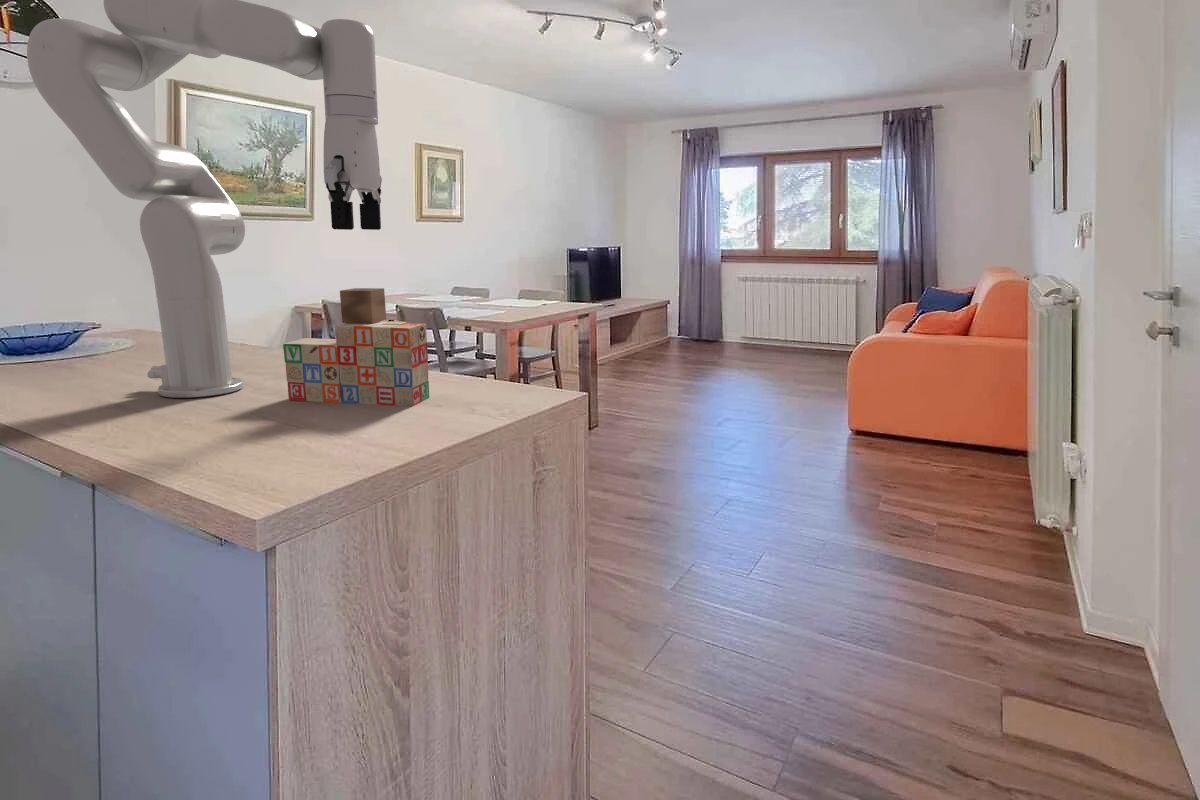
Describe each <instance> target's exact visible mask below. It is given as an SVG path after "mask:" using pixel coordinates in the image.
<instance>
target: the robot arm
mask: <svg viewBox="0 0 1200 800" xmlns="http://www.w3.org/2000/svg"><path fill="white" fill-rule="evenodd" d="M103 8H104V12H105V14H106V16H107V19H109V21H110V23H111V24H112V25H113V27H114V28H115V29H117V30H118V31H119V32H120V33H121V34H118V33H115V32H112V31H109V30H106V29H104V28H101V27H97V26H94V25H92V24H89V23H85V22H82V21H79V20H75V19H68V18H61V17H58V18H48V19H45V20H42V21H40V22H39V23H37V24H36V25H35V26H34V27H33V28H32V29H31V31H30V34H29V35H28V39H27V45H26V59H27V65H28V66H27V67H28V69H29V74H30V77H31V79H32V81H33V84H34V85H35V88H36V89H37V91H38V92H39V94H40V96H41V97H42V98H43V100H44V101H45V103H46V104H47V105H48V106H49V107H50V109H51V110H52V112H53V113H55V115H57V117H58V118H59V119H60V120H61V121H62V122H63V123H64V124H65V126H67V128H68V129H69V130H70V131H71V132H72V134H73V135H74V137H75V138H76V139H77V140H78V142H79V143H80V144H81V147H83V149H84V150H85V151H86V152H87V154H88V155H89V156H90V158H91V159H92V160H93V161H94V162H95V164H96V165H97V167H98V168H99V169H100V170H101V172H102V173H103V174H104V176H105V177H106V178H107V180H108V181H109V182H110V183H111V184H112V186H114V187H113V188H115V189H116V190H117V191H118V192H119V193H120V194H122V195H124V196H125V197H127V198H129V199H132V200H139V201H147V202H148V203H147V204H146V205H145V207H144V208H143V209H142V211H141V215H140V217H139V218H140V219H139V230H140V235H141V239H142V242H143V244H144V247H145V249H146V253H147V255H148V260H149V262H150V267H151V270H152V271H151V272H152V275H153V283H154V288H155V289H154V290H155V296H156V303H157V309H158V318H159V325H160V330H161V332H160V333H161V339H162V347H163V353H164V363H165V364H162V365H153V366H152V367H150V369H149V370H148V372H147V377H148V378H149V379H161V385H159V386H158V388H157V390H158V391H157V392H158V395H160V396H161V397H165V398H174V399H177V398H179V399H180V398H181V399H185V398H186V399H187V398H188V399H189V398H203V397H211V396H212V397H213V396H219V395H226V394H229V393H232V392H237V391H238V390H240V389H241V390H242V388H243V387H244V381H243V379H241V378H238V377H234V376H233V372H232V363H231V356H230V355H231V354H230V346H229V337H228V328H227V321H226V310H225V303H224V295H223V287H222V281H221V278H220V274H219V271H218V269H217V266H216V264H215V262H214V259H213V258H212V256H218V255H219V256H220V255H225V254H229V253H231V252H234V251H235V250H238V248H239V247H240V246H241V245H242V244H243V242H244V240H245V239H244V238H245V235H246V226H245V221H244V218H243V216H242V214H241V212H240V210H239V209H238V207H237V205H236V204H235V203H234V201H233V200H232V199H231V198H230V196H229V195H228V194H227V192H226V191H225V190H224V188H223V187H222V186H221V184H220V183H219V182H218V180H217V179H216V178H215V177H214V176H213V174H212V173H211V172H210V170H209V169H208V167H206V165H205V164H204V162H203V161H201V159H199V158H198V156H196V155H195V154H194V153H192V152H191V151H190V150H188V149H187V148H185V147H183V146H180V145H177V144H173V143H168V142H161V141H158V140H154V139H153V138H151V137H150V136H149V135H148V134H146V133H145V132H144V131H143V129H141V127H140V126H139V125H138V124H137V123H136V121H135V120H134V119H133V117H132V116H131V115H130V113H129V112H128V111H127V110H126V108H125V107H124V106H123V105H122V104H121V103H120V102H119V101H118V100H116V99H115V98H114V97H113V96H111V95H110V94H109V93H108V92H107V91H106V90H104V89H103V88H102V87H104V88H107V89H108V88H109V89H113V90H117V91H122V92H123V91H124V92H134V91H138V90H140V89H143V88H145V87H146V86H148V85H150V84H151V83H152V82H153V81H155V80H157V79H158V78H159V77H160V76H162V75H163V74H164V73H166V72H167V71H169V70H170V69H171V68H173V67H174V66H176V65H178V64H179V62H182V60H184V59H185V58H186V57H187V56H189V55H190V54H191V55H194V56H198V57H202V58H207V59H217V58H219V57H221V55H224V56H231V57H234V58H238V59H242V60H246V61H251V62H255V63H257V64H262V65H265V66H269V67H272V68H275V69H277V70H280V71H282V72H285V73H288V74H290V75H293V76H295V77H298V78H300V79H303V80H307V81H321V80H322V81H323V97H324V98H323V101H324V102H323V103H324V116H325V118H324V119H325V122H324V130H323V131H324V132H323V179H324V180H323V181H324V185H325V187H326V189H327V192H328V195H327V196H328V200H329V203H330V219H331V229H333V230H342V231H343V230H346V231H348V230H349V231H350V230H351V231H352V230H354V228H355V225H354V205H353V202H354V201H350V200H351V196H352V193H353V192H354V191H355V190H357V192H358V193H357V194H358V195H359V198H360V200H361V203H359V217H360V220H359V221H360V229H362V230H368V231H369V230H371V231H373V230H374V231H376V230H377V231H379V230H381V229H382V223H381V222H382V220H381V203H382V200H381V199H382V198H381V194H382V189H381V186H382V180H383V178H382V176H381V172H380V171H381V170H380V156H379V145H378V138H377V131H376V126H377V125H378V124H379V120H378V119H379V115H378V114H379V111H378V94H377V93H378V92H377V87H378V86H377V69H376V68H377V67H376V46H375V43H376V42H375V35H374V32H373V29H372V28H371V27H370V26H368V24H366V23H364V22H361V21H358V20H352V19H348V18H347V19H345V18H336V19H334V18H333V19H330V20H327V21H325V22H323V24H322V25H321V28H320V27H317V26H314V25H312V24H309V23H308V22H307V23H306V22H305V21H303V20H301V19H299V18H297V17H295V16H293V15H291V14H289V13H287V12H285V11H282V10H279V9H277V8H273V7H269V6H265V5H261V4H257V3H253V2H248V1H244V0H103Z"/></svg>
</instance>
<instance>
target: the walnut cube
mask: <svg viewBox="0 0 1200 800" xmlns="http://www.w3.org/2000/svg"><path fill="white" fill-rule="evenodd" d="M385 294H386V293H385V287H382V288H381V287H379V288H377V287H374V288H373V287H371V288H370V287H369V288H368V287H367V288H365V287H364V288H361V287H358V288H357V287H355V288H348V289H341V290H339V299H340V310H341V312H340V313H341V322H342V324H345V323H376V322H384V321H386V320H387V314H386V313H387V311H386V310H387V309H386V308H387V307H386V298H385V297H386V295H385Z"/></svg>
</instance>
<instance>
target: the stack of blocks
mask: <svg viewBox="0 0 1200 800" xmlns="http://www.w3.org/2000/svg"><path fill="white" fill-rule="evenodd" d="M334 327H335V338H316V337H315V338H313V337H311V338H309V337H308V338H307V337H304V338H300V339H295V340H293V341H289V342H285V343H282V347H283V348H282V349H283V356H284V363H285V374H286V382H287V393H288V395H287V396H288V401H296V402H297V401H300V402H306V401H307V402H314V403H315V402H316V403H335V404H356V405H358V404H360V405H361V404H362V405H377V406H379V405H380V406H381V405H382V406H401V407H414V406H417V405H419V404H420V403H422V402H424V401H427V400H428V399H430V387H429V386H430V383H429V362H428V361H429V355H428V337H427V323H417V322H416V323H414V322H408V321H394V320H393V321H392V320H391V321H380V322H376V323H342V324H337V325H335V326H334Z"/></svg>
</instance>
